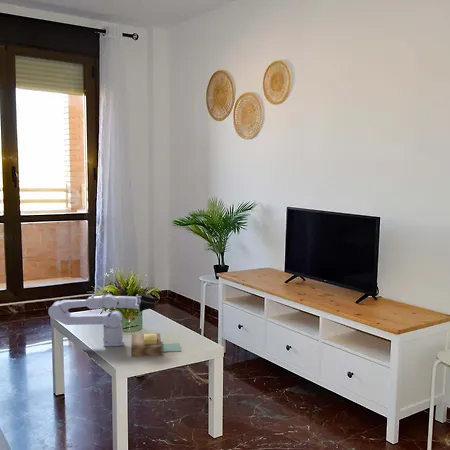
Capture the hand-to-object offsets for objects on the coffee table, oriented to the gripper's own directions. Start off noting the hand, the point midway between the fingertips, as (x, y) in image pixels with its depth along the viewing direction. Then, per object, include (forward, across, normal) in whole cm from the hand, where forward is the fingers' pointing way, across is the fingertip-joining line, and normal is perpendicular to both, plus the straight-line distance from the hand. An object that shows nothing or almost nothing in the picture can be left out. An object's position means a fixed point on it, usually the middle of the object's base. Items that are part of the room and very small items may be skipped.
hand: (155, 303), depth 254 cm
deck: (-3, -9, +20) cm, 22 cm away
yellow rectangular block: (-1, -10, +16) cm, 19 cm away
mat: (+9, -9, +19) cm, 23 cm away
